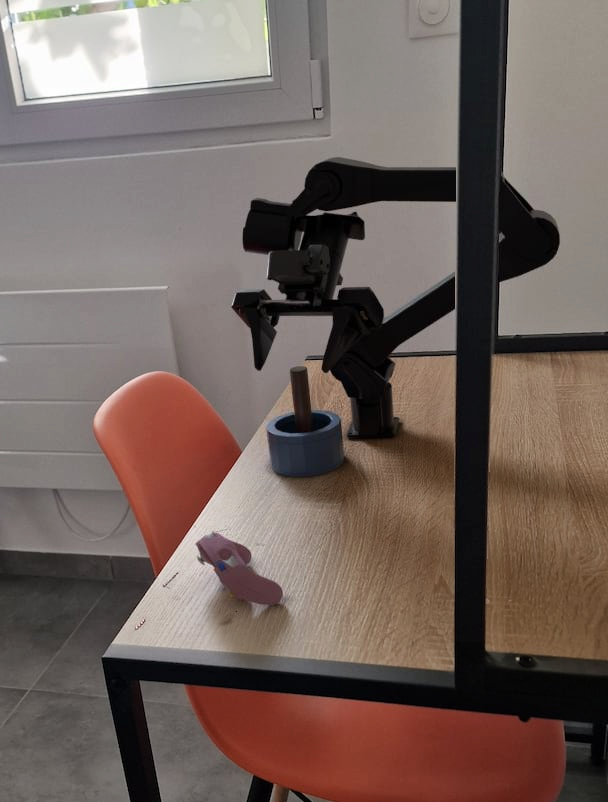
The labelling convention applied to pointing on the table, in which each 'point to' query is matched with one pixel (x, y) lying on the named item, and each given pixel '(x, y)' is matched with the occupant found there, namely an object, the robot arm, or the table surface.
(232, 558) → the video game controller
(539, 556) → the table surface
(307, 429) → the brown peg with base
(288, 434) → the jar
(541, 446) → the table surface
